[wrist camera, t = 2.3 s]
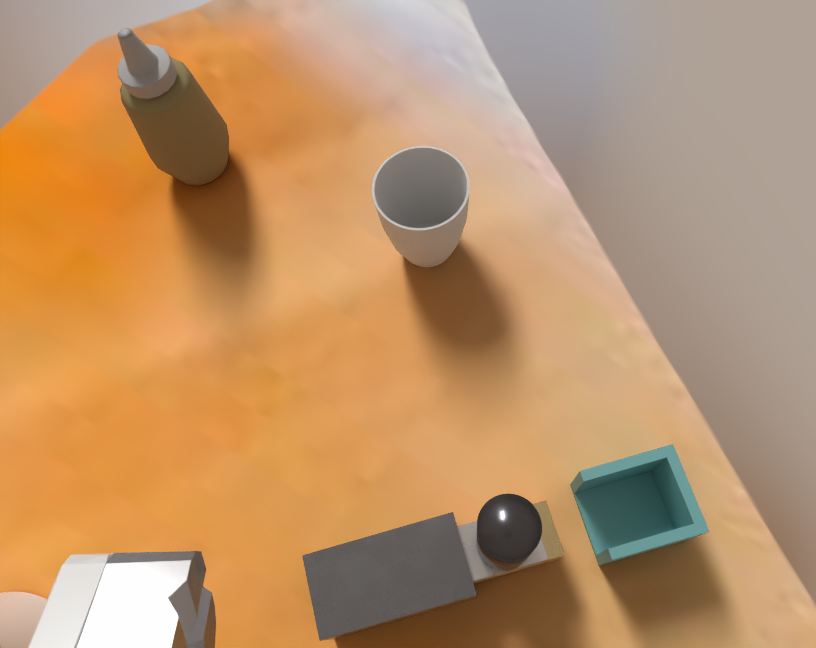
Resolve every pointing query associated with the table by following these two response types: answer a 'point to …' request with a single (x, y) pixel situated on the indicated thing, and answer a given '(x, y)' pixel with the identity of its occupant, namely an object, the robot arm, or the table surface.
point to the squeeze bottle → (171, 113)
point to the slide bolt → (509, 537)
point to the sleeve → (388, 577)
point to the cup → (422, 203)
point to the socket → (637, 505)
